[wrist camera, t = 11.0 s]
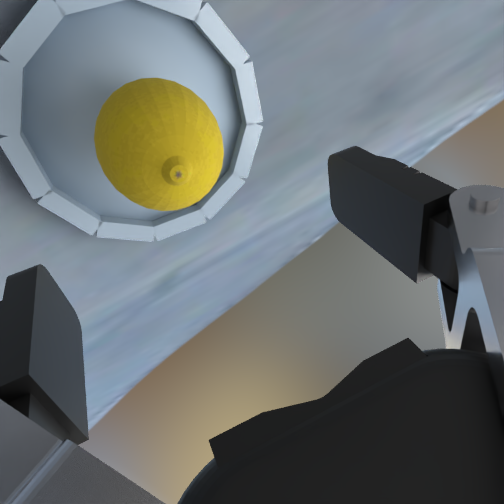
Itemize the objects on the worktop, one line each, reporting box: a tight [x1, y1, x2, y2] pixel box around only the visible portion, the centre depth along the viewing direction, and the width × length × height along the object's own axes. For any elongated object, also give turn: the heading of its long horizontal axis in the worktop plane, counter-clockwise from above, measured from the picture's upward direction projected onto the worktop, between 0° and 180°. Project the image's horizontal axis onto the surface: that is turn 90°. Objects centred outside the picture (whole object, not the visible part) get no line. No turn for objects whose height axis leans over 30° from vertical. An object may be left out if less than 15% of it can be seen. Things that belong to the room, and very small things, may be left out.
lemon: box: [94, 78, 224, 211], centre depth 18 cm, size 6×6×8 cm
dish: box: [0, 0, 263, 242], centre depth 21 cm, size 13×13×2 cm
